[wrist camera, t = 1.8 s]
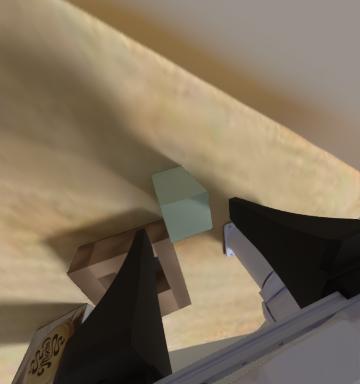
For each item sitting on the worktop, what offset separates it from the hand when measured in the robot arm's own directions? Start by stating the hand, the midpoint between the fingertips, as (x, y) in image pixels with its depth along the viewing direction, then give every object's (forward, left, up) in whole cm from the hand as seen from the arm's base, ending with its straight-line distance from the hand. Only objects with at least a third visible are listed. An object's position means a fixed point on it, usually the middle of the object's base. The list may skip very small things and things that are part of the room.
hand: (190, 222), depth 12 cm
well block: (+8, +13, -9) cm, 18 cm away
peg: (0, 0, -9) cm, 9 cm away
